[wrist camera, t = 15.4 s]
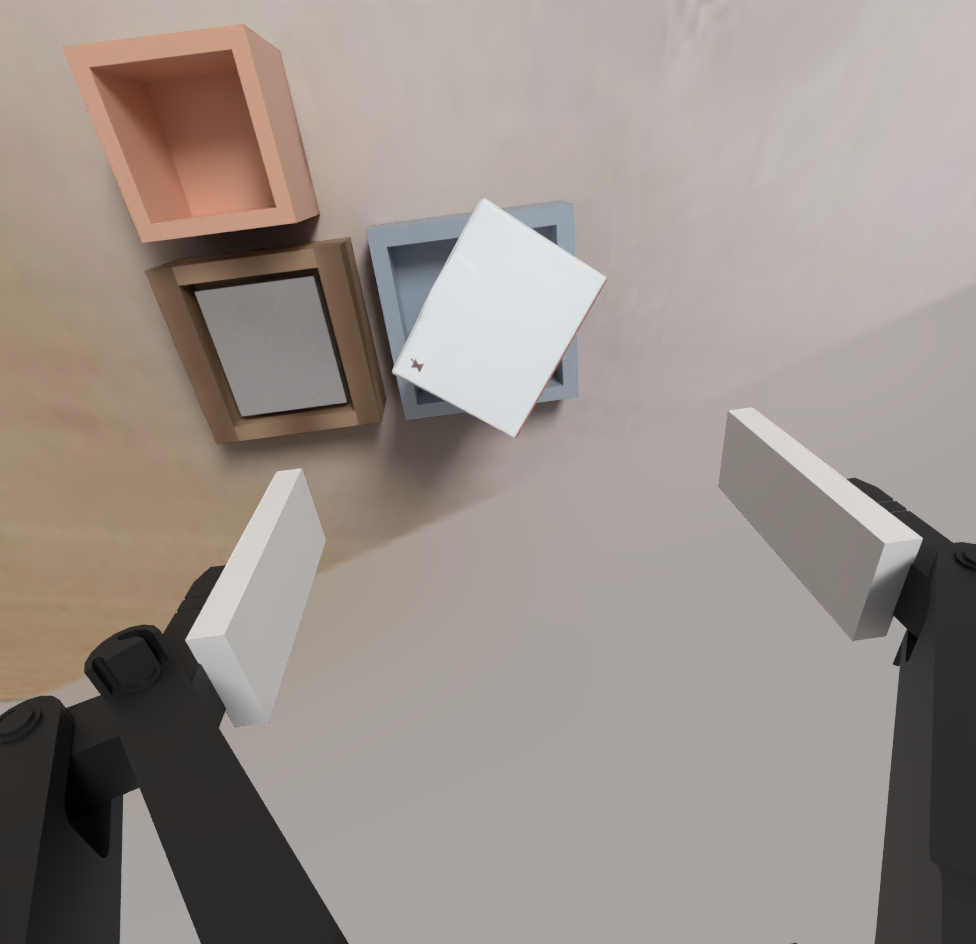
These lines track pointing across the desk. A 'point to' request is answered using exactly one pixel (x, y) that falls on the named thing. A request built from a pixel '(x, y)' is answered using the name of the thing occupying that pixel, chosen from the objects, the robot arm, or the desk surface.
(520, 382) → the small box
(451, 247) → the tray
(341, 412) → the brown wooden square tray
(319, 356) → the plate
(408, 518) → the desk surface
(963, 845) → the robot arm
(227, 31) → the pink open box
